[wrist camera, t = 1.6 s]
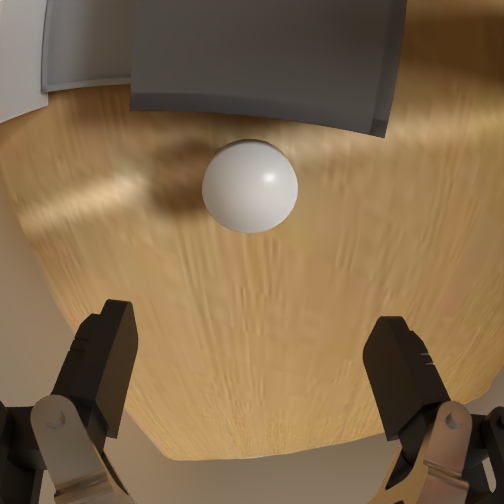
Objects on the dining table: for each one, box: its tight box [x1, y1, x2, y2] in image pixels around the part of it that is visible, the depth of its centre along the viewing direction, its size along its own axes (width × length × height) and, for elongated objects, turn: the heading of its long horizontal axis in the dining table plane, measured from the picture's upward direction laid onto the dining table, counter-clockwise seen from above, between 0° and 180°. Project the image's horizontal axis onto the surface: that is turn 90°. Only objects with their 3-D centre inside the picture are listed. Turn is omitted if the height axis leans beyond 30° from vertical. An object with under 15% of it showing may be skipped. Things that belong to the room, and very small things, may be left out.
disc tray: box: [0, 0, 138, 123], centre depth 14 cm, size 14×13×7 cm
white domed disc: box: [202, 139, 298, 233], centre depth 20 cm, size 6×6×2 cm
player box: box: [130, 0, 407, 138], centre depth 15 cm, size 14×13×7 cm
